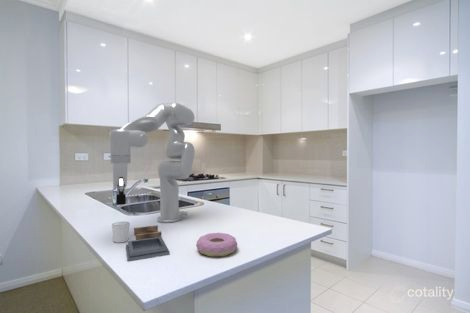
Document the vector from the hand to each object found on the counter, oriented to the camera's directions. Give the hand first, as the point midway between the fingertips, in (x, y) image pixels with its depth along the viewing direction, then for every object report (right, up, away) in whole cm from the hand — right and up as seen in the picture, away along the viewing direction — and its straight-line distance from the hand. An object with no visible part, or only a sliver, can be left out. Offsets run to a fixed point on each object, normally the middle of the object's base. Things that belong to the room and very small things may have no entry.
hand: (120, 202), depth 108 cm
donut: (+40, -17, -9) cm, 45 cm away
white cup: (0, -16, 0) cm, 16 cm away
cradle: (+14, -16, -10) cm, 24 cm away
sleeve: (+9, -16, +5) cm, 19 cm away
